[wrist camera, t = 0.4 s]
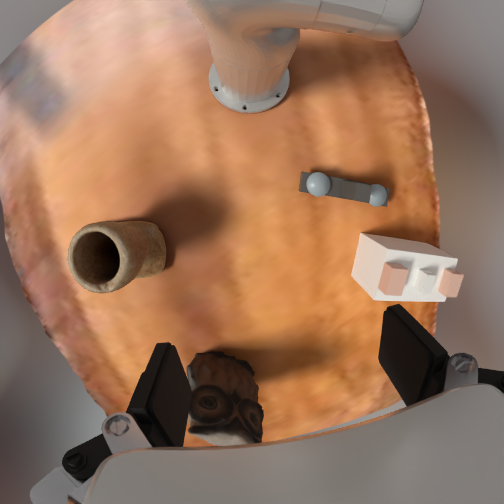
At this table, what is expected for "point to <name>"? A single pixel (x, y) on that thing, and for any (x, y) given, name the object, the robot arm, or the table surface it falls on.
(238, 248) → the table surface
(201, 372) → the owl
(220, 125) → the table surface
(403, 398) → the robot arm
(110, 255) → the stone cup
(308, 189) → the bar with two balls
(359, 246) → the white toy brick
